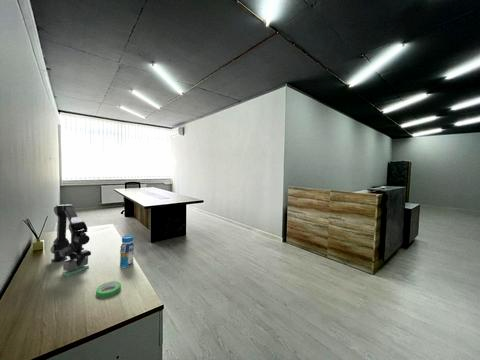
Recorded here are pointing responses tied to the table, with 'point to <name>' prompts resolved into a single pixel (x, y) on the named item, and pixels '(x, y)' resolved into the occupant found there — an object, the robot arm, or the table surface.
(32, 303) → the table surface
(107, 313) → the table surface
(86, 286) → the table surface
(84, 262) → the block
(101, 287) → the tape roll
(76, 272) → the green peg board
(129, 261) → the beverage bottle
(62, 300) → the table surface
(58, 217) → the robot arm
